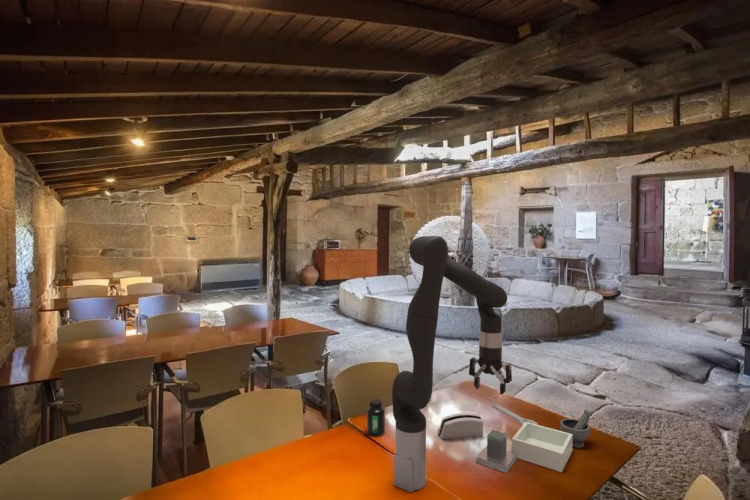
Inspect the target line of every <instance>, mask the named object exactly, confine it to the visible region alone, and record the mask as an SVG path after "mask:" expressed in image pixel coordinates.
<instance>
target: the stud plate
mask: <svg viewBox="0 0 750 500" xmlns="http://www.w3.org/2000/svg"><path fill="white" fill-rule="evenodd" d="M517 459H518V458H517V454H516V453H513V452H512V451H510V450H507V449H506V455H505V457H504V458H503V459H502V460H498V459H495V458H492V457H489V456H487V445H486V446H485V447H484V448H483V449H482V450H481V451H480V452H479V453H478V455H477V456H476V462H475V463H476V464H479V465H481V466H484V467H488V468H491V469H494V470H497V471H498V472H501V473H505V474H507V473H508V472H509V470H510V469H511V467H512V466H513V465H514V463H515V462H516V461H517Z"/></svg>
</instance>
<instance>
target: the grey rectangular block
mask: <svg viewBox="0 0 750 500" xmlns="http://www.w3.org/2000/svg"><path fill="white" fill-rule="evenodd" d="M507 434H508V433H505V432H502V431H498V430H494V429H491V431H489V433H488V434H487V435H486V442H487V443H486V446H487V456H489V457H492V458H495V459H498V460H502V459H503V458H504V457H505V455H506V450H507V440H508V439H507V438H508V437H507Z"/></svg>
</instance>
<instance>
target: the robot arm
mask: <svg viewBox="0 0 750 500" xmlns="http://www.w3.org/2000/svg"><path fill="white" fill-rule="evenodd" d="M408 253H409V257H410V258H411V259H412V262H414V263H415V264H417V265H420V266H422V267H423V269H422V276H421V281H420V283H419V286H418V288H417V290H416V291H415V293H414V295H413V297H412V298H411V300H410V303H409V305H408V309H407V313H406V314H407V316H406V323H405V332H406V336H407V339H408V344H409V346H410V351H411V353H412V361H413V362H412V364H413V365H412V366H413V367H412V371H409V370H402V371H401V372H399V373H397V374H396V376H395V377H394V379H393V383H392V387H391V390H392V391H391V392H392V394H391V395H392V397H391V398H392V413H393V418H394V421H395V453H394V455H393V457H394V458H393V485H394V486H396V487H397V488H400V489H402V490H405V491H406V492H409V493H413V492H414V491H418V490H421V489H422V488H424V487H425V486H426V478H427V474H426V473H427V472H426V471H427V468H426V467H427V465H426V464H427V419H426V416H425V415H424V413H423V412H422V411H421V410H422V409H425V408H426V406H428V405H429V403H430V401H431V398H432V394H433V385H434V380H433V379H434V377H433V376H434V353H435V343H436V336H437V335H436V334H437V327H438V320H439V319H438V318H439V309H440V300H441V293H442V288H443V287H442V286H443V280H444V278H445V279H447V280H449V281H450V282H452V283H453V284H455V285H456V286H457V287H459V288H460V289H462V290H463V291H465V293H468V294H470V295H471V296H473V297H475V300H476V307H477V311H478V314H479V317H480V326H479V327H480V328H479V329H480V330H479V339H478V340H479V341H478V342H479V343H478V344H479V345H478V348H479V349H478V358H476V357H475V356H473V357H471V358H470V359H469V364H468V365H469V367H468V368H469V369H468V375H469V376H472V377H473V386H474V387H475V389H477V390H479V389H480V387H481V385H480V383H481V376H480V375H482V374H483V373H484V374H485V375H488V374H489V375H491V376H494V375H495V377H496V378H497V379H498V381H499V382H500V384H499V395H504V394H505V393H506V390H507V387H506V386H507V384H509V383H511V382H512V381H513V379H512V378H513V377H512V373H513V372H512V364H511V363H506V364H505V363H503V361H502V358H503V334H502V326H503V325H502V322H503V321H502V320H503V319H502V316H500V315H499V314H498V313H497V312H495V309H501V308H503V307H504V306H505V305H506V304H507V302H508V295H507V294H508V293H506V291H505V289H504V288H503V287H501V286H500V285H498V284H496V283H494V282H492V281H490V280H488V279H486V278H484V277H483V276H482V275H480V274H479V273H477V272H476V271H475V270H473V269H472V268H470V267H468V266H467V265H464V264H463V263H460V262H458V261H455V260H453V259H452V258H450V257H449V247H448V243H447V241H446V239H444V238H443V237H442V236H439V235H427V236H425V235H424V236H418V237H416V238H414V239H413V240H412V241H411V242H410V244H409V248H408ZM477 364H478V366H479V368H478V370H477V371H476V365H477ZM502 368H503V370H504V372H505V376H504V373H503V372H502V370H501V369H502Z"/></svg>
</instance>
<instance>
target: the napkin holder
mask: <svg viewBox="0 0 750 500" xmlns="http://www.w3.org/2000/svg"><path fill="white" fill-rule="evenodd" d="M437 432H438V433H437V434H438V435H439V438H440V439H441V440H445V439H446V440H449V439H459V438H471V437H481V436H483V434H484V422H483V419H482V416H480V415H479V414H476V413H472V412H471V413H469V412H460V413H453V414H450V415H447V416H444V417H442V419H441V422H440V425H439V428H437Z"/></svg>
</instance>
